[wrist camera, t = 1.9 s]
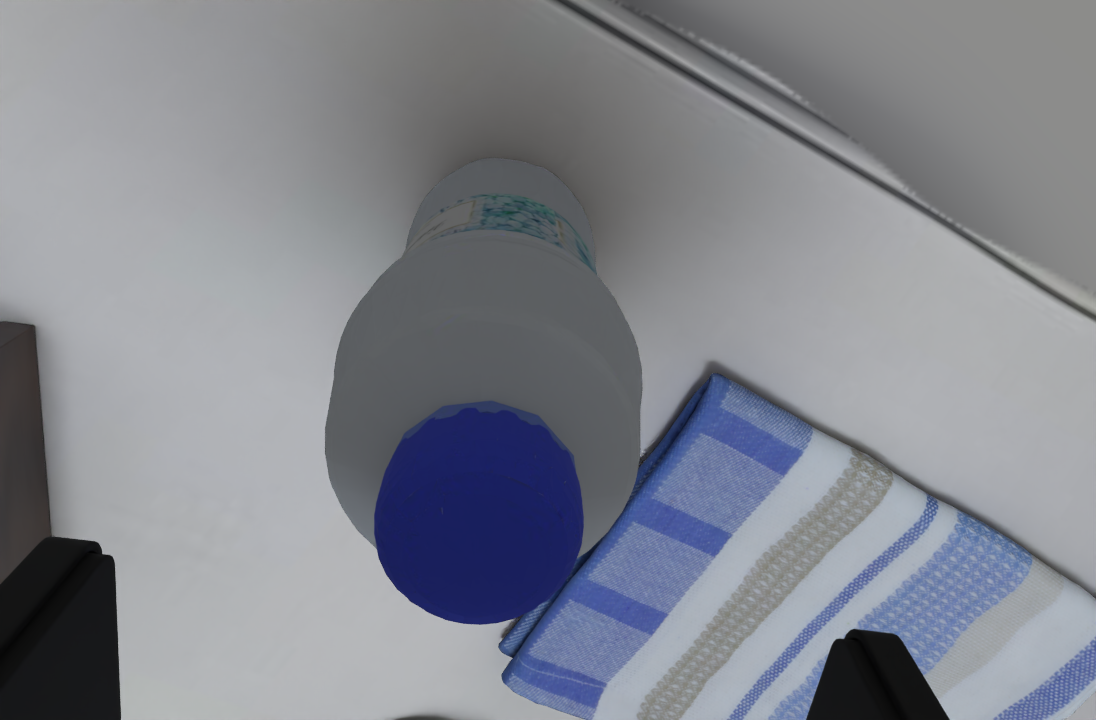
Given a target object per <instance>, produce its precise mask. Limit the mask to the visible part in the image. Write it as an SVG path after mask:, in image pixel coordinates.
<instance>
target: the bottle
mask: <svg viewBox="0 0 1096 720" xmlns="http://www.w3.org/2000/svg"><path fill="white" fill-rule="evenodd" d="M641 398H642V368H641V363H640V358H639V353H638V348H637V345H636V342H635V339H634V336H633V334H632V331H631V329H630V327H629V325H628V323H627V321H626V319H625V317H624V315H623V313H622V311H621V310H620V308H619V306H618V304H617V302H616V300H615V298H614V296H613V295H612V293H611V292H610V291H609V289H608V288H607V287H606V285H605V284H604V283H603V282H602V280H601V279H600V278H599V277H598V275H597V272H596V257H595V247H594V241H593V235H592V230H591V227H590V224H589V222H588V219H587V217H586V215H585V212H584V210H583V208H582V207H581V205H580V203H579V202H578V200H577V199H576V198H575V196H574V195H573V194H572V192H571V191H570V190H569V189H568V188H567V186H566V185H565V184H564V183H563V182H562V181H561V180H560V179H559V178H558V177H557V176H556V175H554V174H553V173H551V172H549V171H548V170H546V169H545V168H543V167H540V166H536V165H532V164H529V163H525V162H522V161H517V160H509V159H500V158H485V159H480V160H476V161H474V162H471V163H469V164H467V165H465V166H464V167H462V168H460V169H458V170H456V171H454V172H453V173H451V174H449V175H448V176H447V177H446V178H444V179H443V180H442V181H441V182H439V183H438V184H437V185H436V186H435V187H434V188H433V189H432V190H431V191H430V192H429V193H428V195H427V196H426V197H425V199H424V200H423V202H422V203H421V205H420V207H419V209H418V211H417V214H416V216H415V218H414V220H413V223H412V225H411V228H410V231H409V235H408V239H407V244H406V249H405V251H404V253H403V256H402V257H401V258H400V259H398V260H397V261H396V262H394V263H393V264H392V265H391V266H390V267H389V268H388V269H387V270H386V271H385V272H384V273H383V274H382V275H381V276H380V277H379V278H378V280H377V281H376V282H375V283H374V285H373V286H372V287H371V289H370V290H369V291H368V293H367V294H366V295H365V296H364V297H363V298H362V300H361V301H360V302H359V304H358V305H357V307H356V308H355V310H354V312H353V313H352V315H351V317H350V319H349V320H348V322H347V325H346V327H345V329H344V332H343V334H342V336H341V340H340V343H339V347H338V351H337V355H336V362H335V369H334V381H333V387H332V393H331V398H330V404H329V410H328V415H327V421H326V427H325V455H326V461H327V467H328V473H329V478H330V481H331V484H332V487H333V489H334V491H335V493H336V496H337V498H338V500H339V502H340V504H341V506H342V508H343V510H344V511H345V513H346V514H347V516H348V517H349V519H350V520H351V522H352V523H353V524H354V526H355V527H356V529H357V530H358V531H359V532H360V533H361V534H362V535H363V536H364V537H365V538H366V539H367V540H368V541H369V542H370V543H371V544H372V545H373V546H374V547H375V548H376V549H377V551H378V556H379V560H380V562H381V564H382V566H383V568H384V571H385V573H386V575H387V576H388V577H389V579H390V580H391V581H392V583H393V584H394V585H395V587H396V588H397V590H399V591H400V592H401V593H402V594H404V595H405V596H406V597H407V598H408V599H409V600H410V601H411V602H412V603H414V604H416V605H418V606H419V607H421V608H422V609H424V610H425V611H427V612H429V613H431V614H433V615H436V616H438V617H440V618H443V619H445V620H449V621H453V622H458V623H463V624H479V625H481V624H491V623H499V622H502V621H506V620H510V619H514V618H517V617H519V616H521V615H523V614H525V613H528V612H530V611H532V610H534V609H536V608H537V607H538V606H539V605H540V604H542V603H544V602H545V601H547V600H549V599H550V598H551V596H552V595H553V594H554V593H555V592H556V591H557V590H558V589H560V588H561V587H562V585H563V583H564V582H565V580H566V579H567V577H568V575H569V574H570V573H571V571H572V569H573V567H574V564H575V562H576V559H577V558H578V557H580V556H582V555H583V554H585V553H586V552H588V551H589V550H590V549H591V548H592V547H593V546H594V545H595V544H596V543H597V542H598V541H599V540H600V539H601V538H602V537H603V536H604V535H605V534H606V533H607V532H608V531H609V530H610V528H611V527H612V525H613V524H614V522H615V521H616V520H617V518H618V517H619V516H620V514H621V513H622V511H623V509H624V507H625V505H626V503H627V501H628V499H629V497H630V495H631V493H632V490H633V487H634V484H635V482H636V477H637V472H638V466H639V460H640V406H641Z"/></svg>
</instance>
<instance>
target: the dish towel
mask: <svg viewBox="0 0 1096 720" xmlns="http://www.w3.org/2000/svg"><path fill="white" fill-rule="evenodd" d="M852 629H860V630H869V631H878V632H886V633H893V634H896V635H898V636H899V638H900V639H901V640H902V641H903V643H904V644H905V646H906V648H907V649H908V651H909V653H910V654H911V656H912V658H913V659H914V661H915V663H916V664H917V666H918V668H919V669H920V671H921V673H922V674H923V676H924V678H925V679H926V681H927V683H928V684H929V686H930V688H931V689H932V691H933V693H934V694H935V696H936V698H937V699H938V701H939V702H940V704H941V706H942V707H943V709H944V711H945V712H946V714H947V716H948V717H949V719H950V720H1063V719H1065V718H1067V717H1069V716H1070V715H1072V714H1073V713H1074V712H1075V711H1076V710H1077V709H1078V708H1079V707H1080V706H1081V705H1082V704H1083V703H1084V702H1085V701H1086V700H1087V699H1088V698H1089V697H1090V696H1091V695H1092V694H1093V693H1094V692H1095V691H1096V599H1095V598H1094V597H1093V596H1092V595H1090V594H1089V593H1088V592H1087V591H1085V590H1084V589H1083V588H1082V587H1080V586H1079V585H1077V584H1075V583H1074V582H1072V581H1070V580H1069V579H1067V578H1066V577H1064V576H1063V575H1061V574H1059V573H1058V572H1056V571H1055V570H1053V569H1052V568H1050V567H1049V566H1047V565H1046V564H1044V563H1043V562H1042V561H1040V560H1039V559H1037V558H1036V557H1034V556H1033V555H1032V554H1030V553H1029V552H1028V551H1027V550H1026V549H1024V548H1023V547H1022V546H1020V545H1018V544H1016V543H1015V542H1013V541H1012V540H1011V539H1010V538H1008V537H1006V536H1004V535H1002V534H1001V533H999V532H998V531H997V530H995V529H993V528H991V527H989V526H987V525H986V524H984V523H983V522H982V521H979V520H977V519H975V518H973V517H972V516H970V515H969V514H966V513H963V512H961V511H960V510H958V509H956V508H954V507H953V506H951V505H949V504H946V503H944V502H942V501H940V500H938V499H936V498H934V497H932V496H930V495H929V494H927V493H925V492H924V491H922V490H920V489H918V488H917V487H915V486H913V485H912V484H910V483H908V482H907V481H905V480H904V479H903V478H901V477H900V476H898V475H896V474H895V473H893V472H892V471H891V470H890V469H889V468H887V467H886V466H884V465H883V464H882V463H880V462H878V461H876V460H874V459H873V458H871V457H870V456H869V455H867V454H865V453H862V452H860V451H858V450H856V449H855V448H853V447H850V446H848V445H846V444H844V443H842V442H840V441H838V440H836V439H834V438H832V437H830V436H828V435H826V434H824V433H823V432H821V431H819V430H817V429H815V428H814V427H812V426H810V425H809V424H807V423H806V422H804V421H802V420H801V419H799V418H797V417H796V416H794V415H792V414H790V413H789V412H787V411H785V410H783V409H782V408H780V407H778V406H776V405H774V404H773V403H771V402H769V401H767V400H765V399H764V398H762V397H760V396H758V395H757V394H755V393H753V392H751V391H749V390H748V389H746V388H744V387H742V386H741V385H739V384H737V383H735V382H733V381H731V380H729V379H728V378H726V377H724V376H723V375H721V374H718V373H713V374H711V375H710V377H709V379H708V380H707V381H706V382H705V383H704V384H703V385H702V386H701V387H700V388H699V389H698V390H697V391H696V392H695V394H694V395H693V397H692V398H691V399H690V401H689V402H688V404H687V405H686V407H685V408H684V410H683V411H682V413H681V414H680V415H679V417H678V418H677V419H676V421H675V422H674V424H673V425H672V426H671V428H670V429H669V431H668V432H667V434H666V435H665V437H664V438H663V440H662V441H661V442H660V443H659V444H658V446H657V447H656V448H655V449H654V451H653V452H652V453H651V454H650V455H649V457H648V458H647V459H646V460H645V461H644V462H643V464H642V465H641V466H640V467H639V468H638V472H637V477H636V482H635V484H634V487H633V490H632V493H631V495H630V497H629V499H628V501H627V503H626V505H625V507H624V509H623V511H622V513H621V514H620V516H619V517H618V518H617V520H616V521H615V522H614V524H613V525H612V527H611V528H610V530H609V531H608V532H607V533H606V534H605V535H604V536H603V537H602V538H601V539H600V540H599V541H598V542H597V543H596V544H595V545H594V546H593V547H592V548H591V549H590V550H589V551H588V552H586V553H585V554H583V555H582V556H580V557H578V558H577V559H576V562H575V564H574V567H573V569H572V571H571V573H570V574H569V575H568V577H567V579H566V580H565V582H564V583H563V585H562V587H561V588H560V589H558V590H557V591H556V592H555V593H554V594H553V595H552V596H551V598H550V599H549V600H547V601H545V602H544V603H542V604H540V605H539V606H538V607H537V608H536V609H534V610H532V611H530V612H528V613H525V614H524V615H523V616H522V617H521V618H520V620H519V621H518V622H517V623H516V625H515V626H514V627H513V629H512V630H511V631H510V632H509V633H508V634H507V635H506V637H505V638H504V639H503V640H502V641H501V642H500V643H499V646H498V647H499V649H500V651H501V652H502V653H504V654H506V655H508V656H510V657H512V658H513V659H512V660H511V661H510V663H509V664H508V666H507V667H506V669H505V670H504V672H503V673H502V680H503V682H504V684H506V685H507V686H508V687H509V688H510V689H511V690H512V691H513V692H515V693H517V694H518V695H521V696H523V697H525V698H527V699H529V700H531V701H533V702H535V703H537V704H541V705H545V706H548V707H551V708H553V709H556V710H559V711H561V712H564V713H567V714H570V715H573V716H576V717H579V718H582V719H586V720H806V718H807V715H808V712H809V709H810V706H811V703H812V701H813V698H814V695H815V692H816V689H817V686H818V683H819V680H820V677H821V674H822V672H823V669H824V666H825V663H826V660H827V657H828V654H829V651H830V648H831V646H832V644H833V642H834V641H835V640H836V639H839V638H841V639H844V638H845V636H846V634H847V633H848V632H849V631H850V630H852Z"/></svg>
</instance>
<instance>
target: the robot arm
mask: <svg viewBox="0 0 1096 720" xmlns="http://www.w3.org/2000/svg"><path fill="white" fill-rule="evenodd" d="M0 720H121V707H120V682H119V656H118V631H117V606H116V581H115V563H114V559H113V557H112V556H110V555H104V554H102V549H101V547H100V545H99V543H97V542H95V541H87V540H78V539H69V538H61V537H52V536H50V537H46V538H45V539H43V540H42V541H41V542H40V543H39V544H38V545H37V546H36V547H35V548H34V549H33V550H32V551H31V552H30V553H29V554H28V555H27V556H26V557H25V559H24V560H23V561H22V562H21V563H20V564H19V565H18V566H17V567H16V568H15V569H14V570H13V571H12V572H11V573H10V575H9V576H8V577H7V578H6V579H5V580H4V581H3V582H2V583H1V584H0ZM806 720H950V719H949V717H948V716H947V714H946V712H945V711H944V709H943V707H942V706H941V704H940V702H939V701H938V699H937V698H936V696H935V694H934V693H933V691H932V689H931V688H930V686H929V684H928V683H927V681H926V679H925V678H924V676H923V674H922V673H921V671H920V669H919V668H918V666H917V664H916V663H915V661H914V659H913V658H912V656H911V654H910V653H909V651H908V649H907V648H906V646H905V644H904V643H903V641H902V640H901V639H900V638H899V636H898V635H896V634H893V633H886V632H878V631H869V630H860V629H852V630H850V631H849V632H848V633H847V634H846V636H845V638H844V639H841V638H839V639H836V640H835V641H834V642H833V644H832V646H831V648H830V651H829V654H828V657H827V660H826V663H825V666H824V669H823V672H822V674H821V677H820V680H819V683H818V686H817V689H816V692H815V695H814V698H813V701H812V703H811V706H810V709H809V712H808V715H807V718H806Z"/></svg>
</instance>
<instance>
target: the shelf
mask: <svg viewBox="0 0 1096 720" xmlns="http://www.w3.org/2000/svg"><path fill="white" fill-rule="evenodd" d="M50 536H51V531H50V519H49V506H48V494H47V481H46V469H45V456H44V444H43V431H42V418H41V406H40V393H39V381H38V368H37V356H36V343H35V330H34V326H32V325H24V324H16V323H9V322H0V584H1V583H2V582H3V581H4V580H5V579H6V578H7V577H8V576H9V575H10V573H11V572H12V571H13V570H14V569H15V568H16V567H17V566H18V565H19V564H20V563H21V562H22V561H23V560H24V559H25V557H26V556H27V555H28V554H29V553H30V552H31V551H32V550H33V549H34V548H35V547H36V546H37V545H38V544H39V543H40V542H41V541H42V540H43V539H45V538H46V537H50Z"/></svg>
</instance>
